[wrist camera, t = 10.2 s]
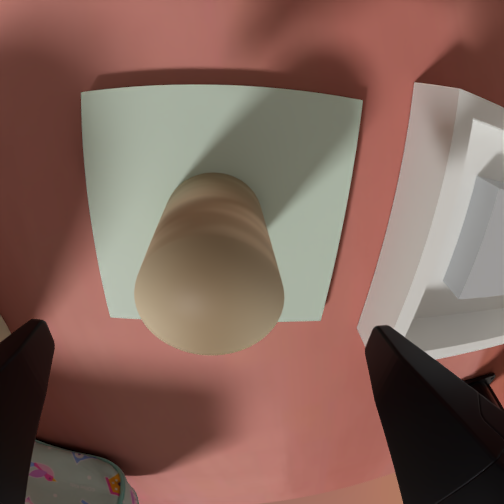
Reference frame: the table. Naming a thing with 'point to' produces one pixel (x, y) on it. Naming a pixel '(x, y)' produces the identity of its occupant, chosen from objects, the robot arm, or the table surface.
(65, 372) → the table surface
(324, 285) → the green pad
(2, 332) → the reusable coffee cup
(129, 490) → the lunch box
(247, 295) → the birch cylinder
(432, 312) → the tray
